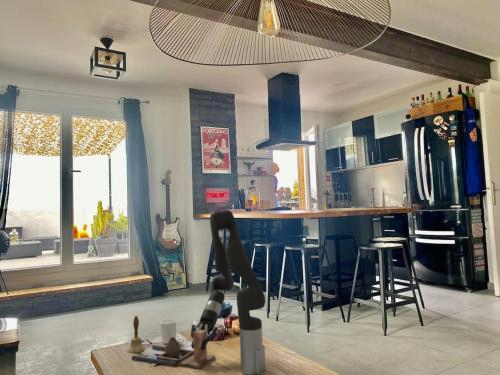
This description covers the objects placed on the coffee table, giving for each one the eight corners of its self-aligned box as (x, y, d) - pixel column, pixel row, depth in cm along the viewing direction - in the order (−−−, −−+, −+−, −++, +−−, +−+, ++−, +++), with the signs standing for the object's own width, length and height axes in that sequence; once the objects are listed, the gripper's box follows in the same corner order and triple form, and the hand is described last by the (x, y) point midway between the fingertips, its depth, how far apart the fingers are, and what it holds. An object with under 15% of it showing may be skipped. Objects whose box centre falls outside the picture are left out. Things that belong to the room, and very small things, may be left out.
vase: (178, 360, 168) (178, 340, 168) (163, 361, 168) (162, 340, 169) (182, 355, 175) (182, 335, 175) (167, 355, 175) (167, 335, 176)
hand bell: (133, 346, 189) (132, 313, 190) (148, 347, 187) (147, 314, 188) (123, 352, 181) (123, 318, 182) (139, 353, 179) (138, 319, 180)
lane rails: (194, 354, 175) (194, 350, 175) (175, 366, 161) (174, 362, 161) (153, 348, 185) (153, 345, 185) (131, 359, 172) (131, 356, 172)
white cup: (158, 343, 192) (157, 323, 192) (165, 338, 199) (165, 319, 200) (171, 344, 189) (171, 324, 190) (179, 339, 197) (178, 319, 198)
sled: (215, 358, 168) (214, 328, 169) (200, 368, 158) (199, 336, 159) (173, 352, 178) (172, 323, 179) (156, 361, 167) (156, 331, 168)
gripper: (194, 307, 176) (180, 342, 164) (221, 309, 170) (207, 346, 158) (201, 316, 180) (187, 351, 169) (227, 318, 174) (215, 355, 162)
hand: (197, 348), depth 163 cm, fingers closed on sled, 4 cm apart
